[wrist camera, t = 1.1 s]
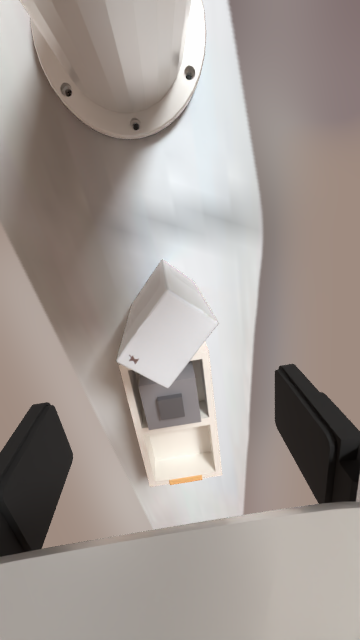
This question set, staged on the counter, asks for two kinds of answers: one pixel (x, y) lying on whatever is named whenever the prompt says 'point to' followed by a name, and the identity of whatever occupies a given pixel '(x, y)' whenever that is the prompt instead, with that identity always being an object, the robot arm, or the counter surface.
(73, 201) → the counter surface
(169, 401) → the grey square block
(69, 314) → the counter surface
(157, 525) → the counter surface
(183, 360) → the skincare box
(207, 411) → the cream rectangular tray
